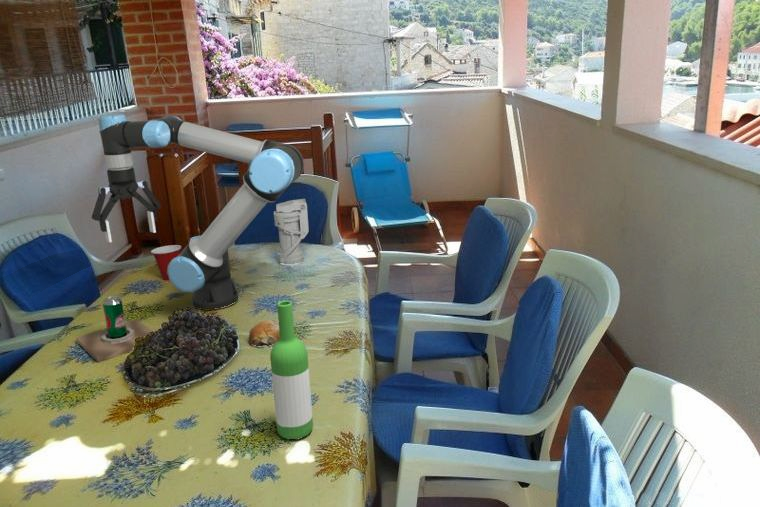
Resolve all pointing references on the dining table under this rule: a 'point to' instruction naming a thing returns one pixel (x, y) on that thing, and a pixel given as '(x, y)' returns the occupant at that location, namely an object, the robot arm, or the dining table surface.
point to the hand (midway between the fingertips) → (131, 236)
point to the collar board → (112, 341)
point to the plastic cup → (165, 257)
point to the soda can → (114, 317)
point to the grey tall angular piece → (291, 229)
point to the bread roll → (264, 333)
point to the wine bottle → (290, 379)
